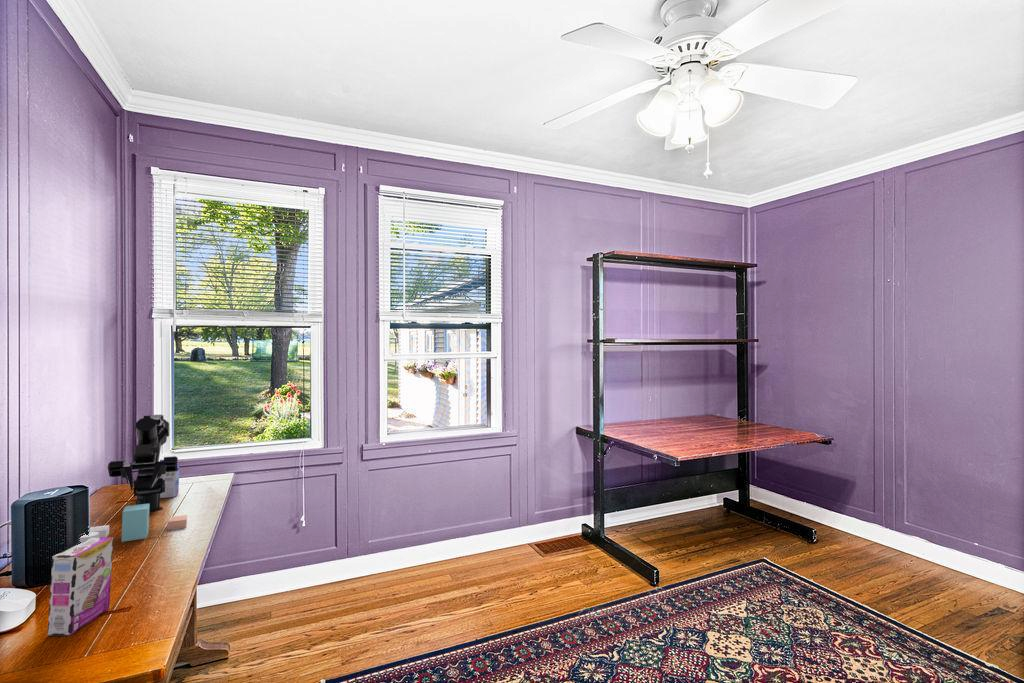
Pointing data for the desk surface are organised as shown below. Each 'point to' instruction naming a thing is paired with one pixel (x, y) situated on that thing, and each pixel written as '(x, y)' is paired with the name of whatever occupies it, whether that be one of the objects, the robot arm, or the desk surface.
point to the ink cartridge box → (171, 483)
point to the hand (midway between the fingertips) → (141, 488)
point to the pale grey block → (101, 530)
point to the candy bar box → (79, 585)
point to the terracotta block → (177, 522)
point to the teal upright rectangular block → (135, 522)
